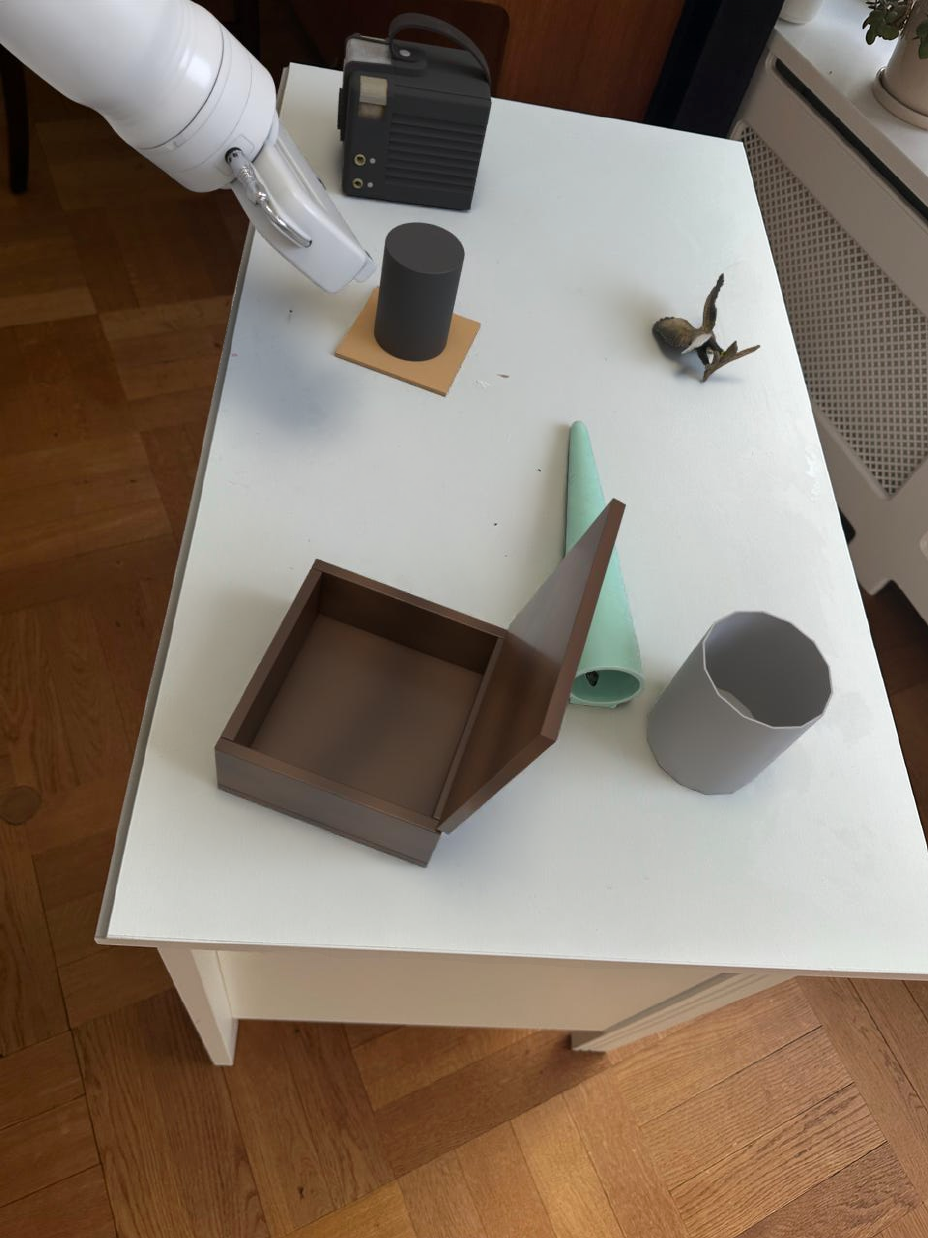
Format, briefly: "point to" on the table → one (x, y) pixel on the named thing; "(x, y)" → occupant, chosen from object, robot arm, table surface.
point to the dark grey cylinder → (417, 290)
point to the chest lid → (533, 673)
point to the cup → (738, 702)
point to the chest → (360, 712)
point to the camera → (413, 116)
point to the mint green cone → (601, 594)
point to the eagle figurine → (702, 335)
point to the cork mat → (424, 374)
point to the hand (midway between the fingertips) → (340, 230)
